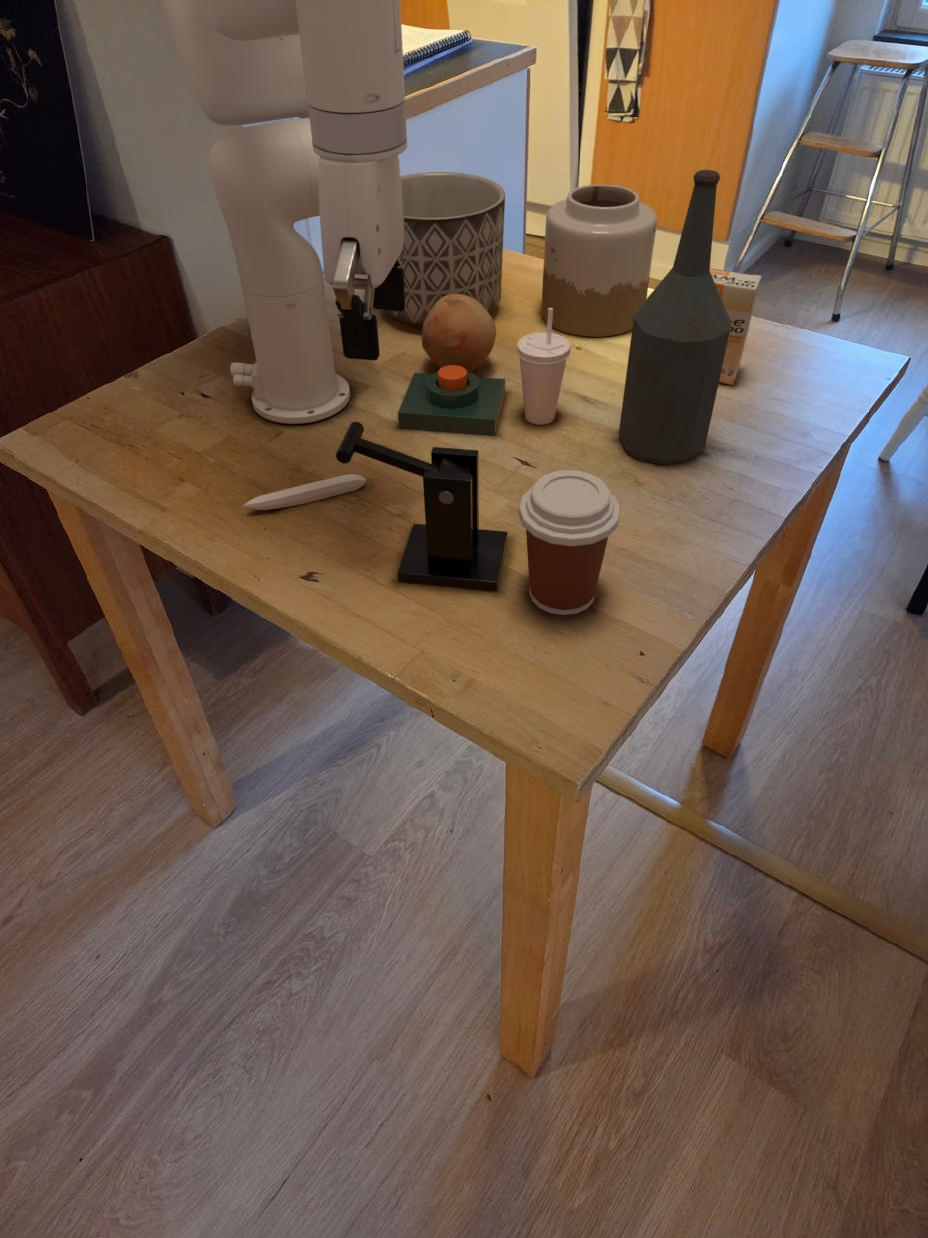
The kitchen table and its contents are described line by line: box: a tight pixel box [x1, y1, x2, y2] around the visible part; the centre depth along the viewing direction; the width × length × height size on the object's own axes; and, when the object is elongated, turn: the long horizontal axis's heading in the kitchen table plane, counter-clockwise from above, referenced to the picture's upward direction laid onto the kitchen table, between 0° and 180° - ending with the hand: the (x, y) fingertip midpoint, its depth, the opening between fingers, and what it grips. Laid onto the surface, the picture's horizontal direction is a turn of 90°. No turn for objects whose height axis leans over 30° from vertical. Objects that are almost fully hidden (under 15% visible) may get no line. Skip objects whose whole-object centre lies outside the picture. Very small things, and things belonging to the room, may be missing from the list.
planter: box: [383, 171, 506, 326], centre depth 123 cm, size 19×19×16 cm
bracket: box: [396, 446, 509, 592], centre depth 82 cm, size 10×8×12 cm
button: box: [437, 365, 467, 391], centre depth 104 cm, size 4×4×2 cm
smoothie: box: [516, 308, 572, 425], centre depth 101 cm, size 6×6×14 cm
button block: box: [397, 371, 506, 436], centre depth 106 cm, size 12×10×4 cm
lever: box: [335, 421, 471, 478], centre depth 79 cm, size 12×5×2 cm, turn 81°
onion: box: [421, 294, 497, 373], centre depth 112 cm, size 10×10×10 cm
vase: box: [541, 184, 658, 338], centre depth 121 cm, size 15×15×17 cm
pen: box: [242, 473, 367, 511], centre depth 94 cm, size 2×14×2 cm, turn 113°
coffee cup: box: [517, 469, 622, 616], centre depth 79 cm, size 9×9×12 cm
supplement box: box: [710, 267, 762, 386], centre depth 109 cm, size 8×5×13 cm, turn 68°
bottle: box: [618, 169, 732, 466], centre depth 91 cm, size 10×10×30 cm
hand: (376, 332), depth 79 cm, fingers open, 9 cm apart
